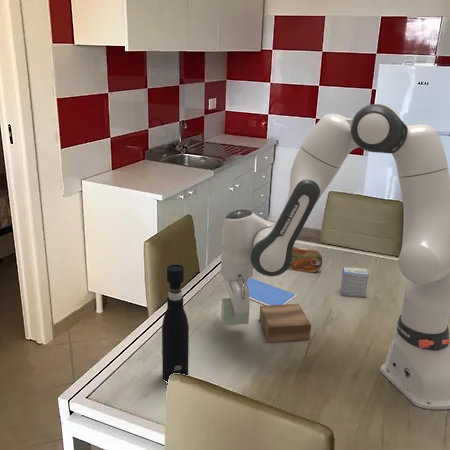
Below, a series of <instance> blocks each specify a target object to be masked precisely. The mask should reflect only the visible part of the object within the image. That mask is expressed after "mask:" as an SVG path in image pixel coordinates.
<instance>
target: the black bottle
mask: <svg viewBox="0 0 450 450" xmlns="http://www.w3.org/2000/svg"><path fill="white" fill-rule="evenodd" d="M184 273H185V271H184V266H182V265H181V264H171V265H168V266H167V267H166V281H167V283H169V290H168V292H167V294H168V295H167V298H166V300H167V305H166V307H167V308H166V310H165V312H164V316H163V320H162V325H161V348H162V349H161V351H162V352H161V355H162V367H161V368H162V370H161V371H162V380H163V381H164V380H165V381H167V382H168V379H169V376H170V375H171V374H173V373H180V374H185V375H188V376H189V344H190V343H189V341H190V340H189V339H190V338H189V332H190V330H189V329H190V327H189V321H188V317H187V314H186V311H185V308H184V297H183V291H182V286H181V284H182V283H184V282H185V281H184V279H185V278H184V277H185V276H184ZM165 381H164V382H165Z"/></svg>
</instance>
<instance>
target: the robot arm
mask: <svg viewBox="0 0 450 450" xmlns="http://www.w3.org/2000/svg"><path fill="white" fill-rule="evenodd" d="M359 148H360V149H362V150H363V151H365V152H369V153H370V152H371V153H382V154H391V156H392V157H393V159H394V162H395V165H396V171H397V176H398V182H399V188H400V194H401V199H402V206H403V232H402V233H403V235H402V246H401V250H400V252H399V256H398V258H397V259H398V260H397V261H398V267H399V270H400V272H401V274H402V275H403V276H404V277H405V278H406V279H407V280H409V283H408V284H407V286H406V288H405V291H404V297H403V302H402V308H401V314H400V315H399V317H398V320H397V323H396V324H397V325H396V334H395V335H394V338H393V339H392V340H391V343H389V344H390V345H389V348H388V351H387V355H386V357H385V358H386V359H385V362H384V363H383V364H382V365H381V366H380V369H379V371H380V373H381V374H382V375H383V376H384V377H385V378H387V380H389V381H390V382H391V384H393V385H394V386H395V388H396V389H398V390H399V391H400V392H401V393H402V394H403V395H404V397H406V398H408V400H409V401H410V402H411V403H412V404H413V405H414V406H416V407H419V408H423V409H427V410H449V409H450V346H449V345H450V331H449V330H450V329H449V325H448V324H449V320H450V172H449V165H448V160H447V157H446V152H445V149H444V145H443V143H442V139H441V137H440V135H439V132H438V131H437V129H436V128H435V127H433V126H431V125H429V124H424V123H423V124H422V123H420V124H419V123H418V124H409V125H408V124H405V122H404V121H403V120H402V119H401V117H400V116H399V114H398V112H397V111H396V110H395V109H394V108H393V107H390V106H389V105H387V104H383V103H374V104H369V105H366V106H364V107H362V108H360V110H358V111H357V112H356V114H355V115H354V116H353V117H351V118H349V117H347V116H344V115H341V114H339V113H327V114H325V115H323V116H322V117H321V118H320V119H319V120H318V122H317V123H316V124H315V125H314V126H313V128H311V130H310V132H309V133H308V135H307V136H306V137H305V140H303V143H302V144H301V145H300V148H299V150H298V151H297V154H296V156H295V158H294V160H293V164H292V167H291V169H290V176H289V178H290V179H289V190H288V196H287V199H286V202H285V205H284V207H283V208H282V211H281V213H280V214H279V216H278V218H277V220H276V221H275V222H274V221H270V220H266V219H264V218H262V217H260V216H258V215H257V214H256V213H254V211H252V210H250V209H244V208H243V209H237V210H234V211H231V212H229V213H228V214H227V215H226V216H225V218H224V219H223V223H222V232H221V245H222V252H221V256H220V275H221V276H222V277H223V281H224V285H225V288H226V291H227V293H228V298H230V300H231V302H232V305H233V308H234V314H233V315H234V318H235V319H240V318H241V315H244V314H248V312H249V313H250V299H249V288H248V285H247V283H246V281H247V280H248V278H252V277H253V274H254V270H255V271H256V272H257V273H259V274H260V275H263V276H266V277H277V276H280V275H283V274H284V273H286V272H287V270H289V269H288V268H289V266H290V264H291V260H292V250H293V247H295V246H294V245H295V243H296V241H297V239H298V237H299V235H300V233H301V231H302V230H303V228H304V226H305V224H306V222H307V221H308V218H309V217H310V215H311V213H312V212H313V209H314V208H315V206H316V204H318V202H319V200H320V199H321V197H322V195H323V194H324V193H325V192H326V190H327V188H328V187H329V185H330V184H331V183H332V182H333V179H334V178H335V177H336V175H337V174H338V172H339V170H340V168H341V167H342V165H343V164H344V162H345V160H346V159H347V157H348V156H349V154H350V153H351V152H352V151H353V150H356V149H359Z"/></svg>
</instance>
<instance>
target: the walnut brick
mask: <svg viewBox="0 0 450 450" xmlns="http://www.w3.org/2000/svg"><path fill="white" fill-rule="evenodd" d="M258 320H259V322H260V324H261V327H262V329H263V332H264V333H265V336H266V339H267V340H268V342H283V341H284V342H285V341H299V340H311V329H312V323H311V322H310V320H309V318H308V317H307V315H306V313H305V312H304V310H303V308H302V306H301V305H300V303H288V304H285V305H259V319H258Z"/></svg>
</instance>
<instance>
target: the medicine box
mask: <svg viewBox="0 0 450 450" xmlns="http://www.w3.org/2000/svg"><path fill="white" fill-rule="evenodd" d="M368 281H369V273H368V270H367V268H360V267H347V266H346V267H342V274H341V280H340V294H341V296H346V297H359V298H361V297H362V298H366V297H367V296H366V295H367V287H368Z"/></svg>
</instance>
